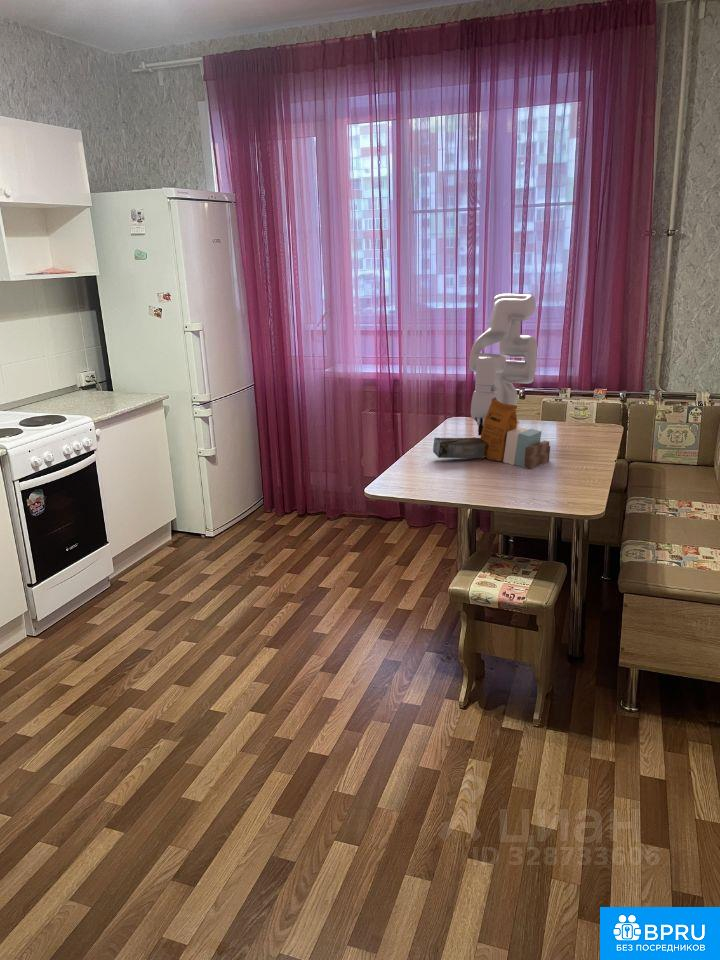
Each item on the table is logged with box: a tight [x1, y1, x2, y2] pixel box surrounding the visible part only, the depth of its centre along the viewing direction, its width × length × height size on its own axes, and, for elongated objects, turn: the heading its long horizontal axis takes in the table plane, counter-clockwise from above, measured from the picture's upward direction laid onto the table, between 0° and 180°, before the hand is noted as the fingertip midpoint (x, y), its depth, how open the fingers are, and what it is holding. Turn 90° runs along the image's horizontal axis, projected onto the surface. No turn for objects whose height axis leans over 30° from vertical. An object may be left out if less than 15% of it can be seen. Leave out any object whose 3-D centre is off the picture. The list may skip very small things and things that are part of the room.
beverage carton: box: [432, 436, 486, 459], centre depth 283 cm, size 8×19×7 cm, turn 102°
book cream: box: [502, 426, 530, 466], centre depth 280 cm, size 10×4×12 cm, turn 141°
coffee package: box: [479, 399, 518, 462], centre depth 283 cm, size 10×12×22 cm
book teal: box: [514, 428, 542, 467], centre depth 278 cm, size 10×4×12 cm, turn 141°
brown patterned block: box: [523, 440, 551, 470], centre depth 282 cm, size 15×20×8 cm
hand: (482, 434), depth 290 cm, fingers closed
